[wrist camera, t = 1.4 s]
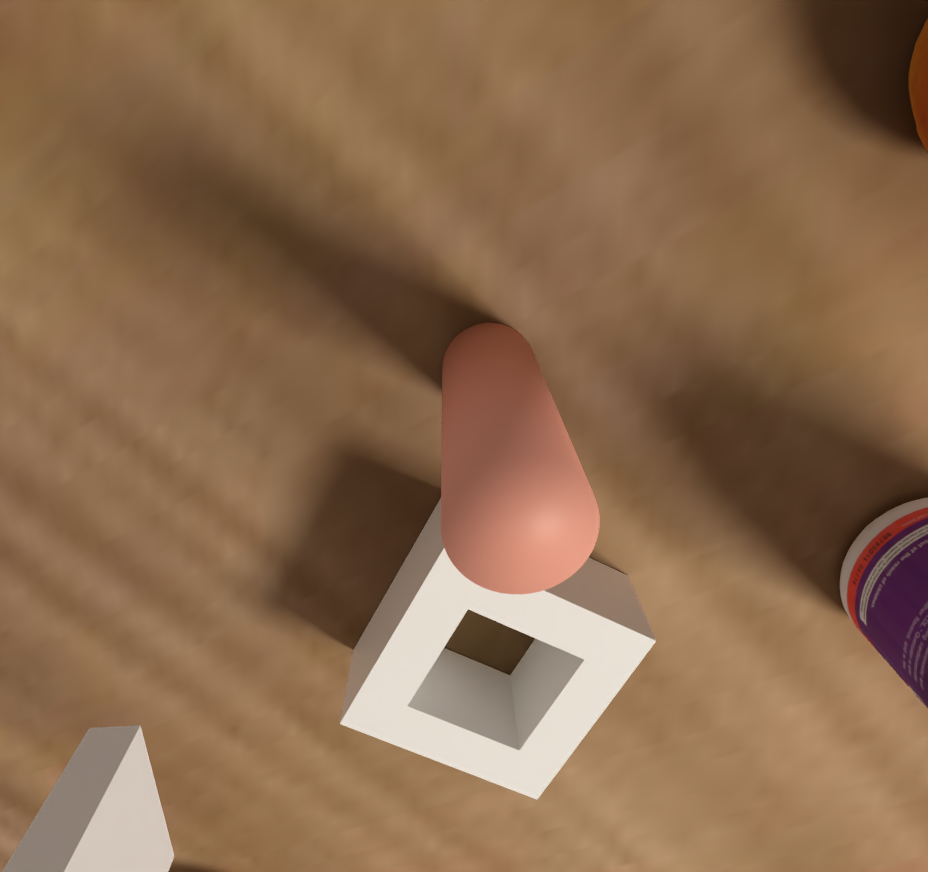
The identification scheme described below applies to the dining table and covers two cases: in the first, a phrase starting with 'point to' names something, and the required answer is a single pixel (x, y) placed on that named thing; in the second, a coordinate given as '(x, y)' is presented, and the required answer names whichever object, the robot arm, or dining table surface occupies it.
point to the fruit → (920, 84)
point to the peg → (509, 469)
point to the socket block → (484, 688)
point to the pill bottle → (892, 590)
